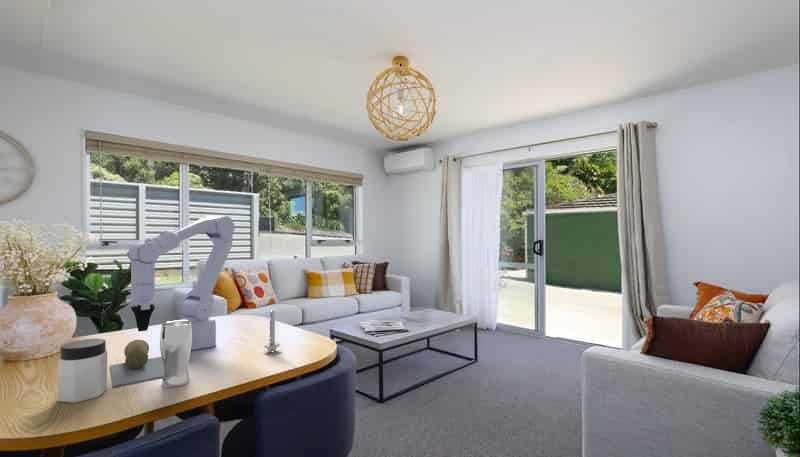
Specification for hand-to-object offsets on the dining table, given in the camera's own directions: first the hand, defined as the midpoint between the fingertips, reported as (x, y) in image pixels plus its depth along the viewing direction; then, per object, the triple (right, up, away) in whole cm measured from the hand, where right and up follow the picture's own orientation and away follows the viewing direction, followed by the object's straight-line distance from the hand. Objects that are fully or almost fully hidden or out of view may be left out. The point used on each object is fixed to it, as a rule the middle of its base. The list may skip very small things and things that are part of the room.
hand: (142, 330), depth 112 cm
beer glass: (+19, -9, -16) cm, 26 cm away
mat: (+6, -9, -7) cm, 13 cm away
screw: (+35, -9, +10) cm, 37 cm away
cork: (-2, -6, +1) cm, 6 cm away
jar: (+2, -9, -23) cm, 25 cm away
